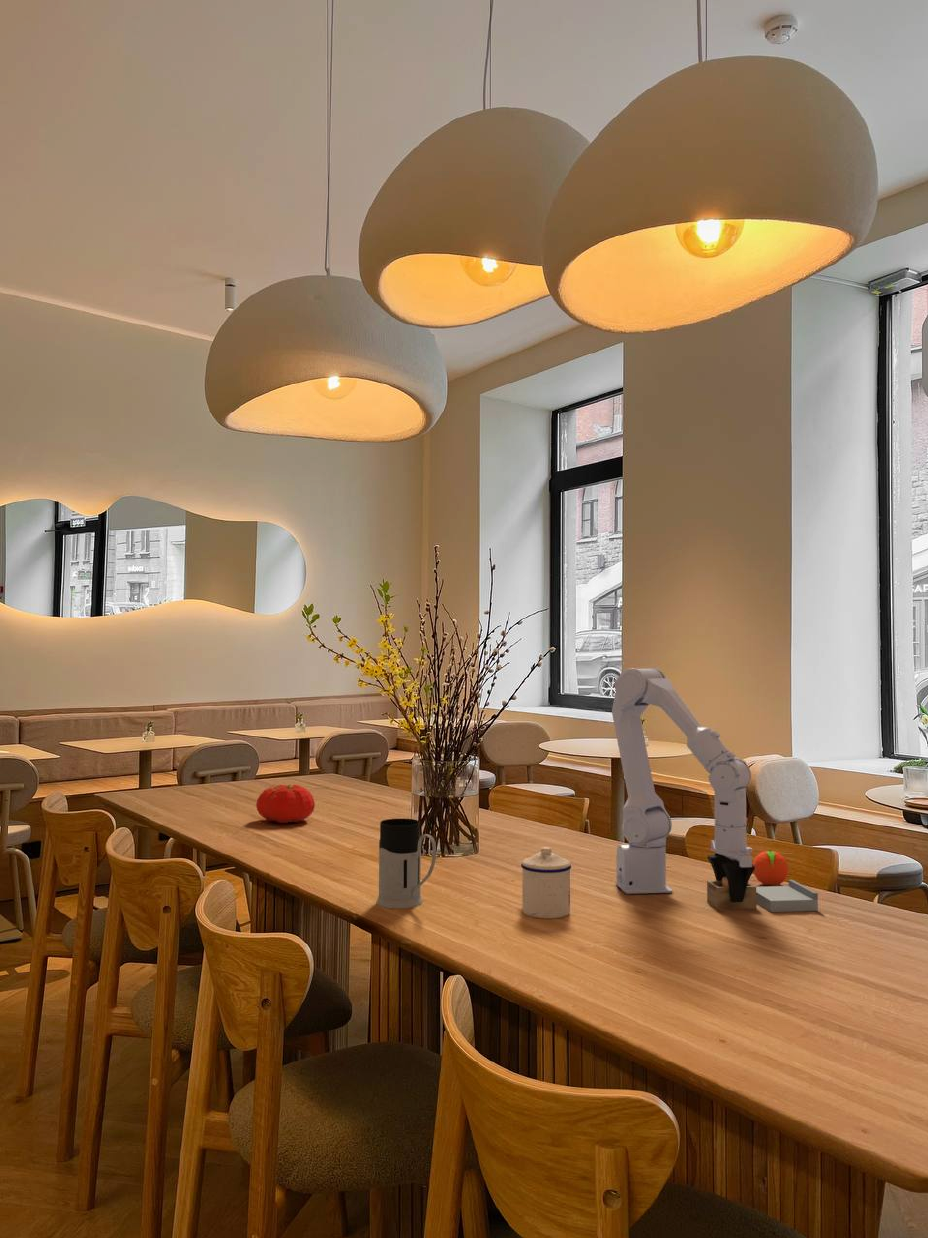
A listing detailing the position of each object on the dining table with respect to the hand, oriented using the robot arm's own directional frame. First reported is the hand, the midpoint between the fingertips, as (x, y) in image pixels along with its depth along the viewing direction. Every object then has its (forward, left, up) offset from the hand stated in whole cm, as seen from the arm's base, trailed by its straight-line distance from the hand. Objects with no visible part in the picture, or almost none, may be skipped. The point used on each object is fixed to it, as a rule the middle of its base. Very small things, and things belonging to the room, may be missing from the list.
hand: (730, 897), depth 171 cm
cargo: (0, 0, +2) cm, 2 cm away
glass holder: (-60, +6, -2) cm, 60 cm away
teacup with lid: (-36, 0, -2) cm, 36 cm away
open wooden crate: (0, 0, -1) cm, 1 cm away
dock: (+10, 0, -1) cm, 10 cm away
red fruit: (+14, +13, -2) cm, 19 cm away
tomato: (-90, +93, -2) cm, 129 cm away
